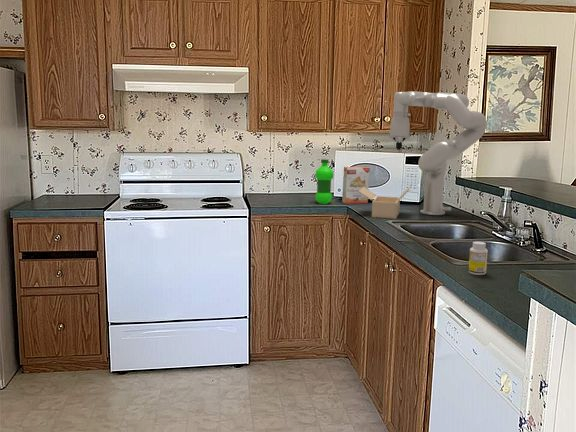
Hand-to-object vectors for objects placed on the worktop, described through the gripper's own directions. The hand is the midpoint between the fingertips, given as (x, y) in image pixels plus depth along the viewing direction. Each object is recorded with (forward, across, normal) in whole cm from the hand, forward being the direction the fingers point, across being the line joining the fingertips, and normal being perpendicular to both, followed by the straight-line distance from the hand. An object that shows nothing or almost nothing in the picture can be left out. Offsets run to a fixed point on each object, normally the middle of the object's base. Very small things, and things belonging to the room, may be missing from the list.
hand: (398, 149), depth 317 cm
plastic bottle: (+32, +41, -2) cm, 52 cm away
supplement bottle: (+32, -37, +128) cm, 137 cm away
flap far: (+21, +13, +24) cm, 35 cm away
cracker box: (+32, +24, -10) cm, 42 cm away
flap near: (+20, -6, +24) cm, 32 cm away
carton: (+32, +3, +24) cm, 40 cm away
